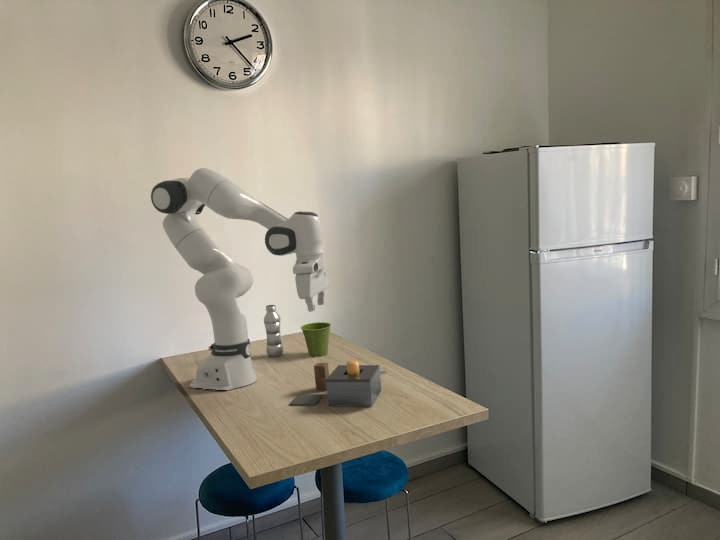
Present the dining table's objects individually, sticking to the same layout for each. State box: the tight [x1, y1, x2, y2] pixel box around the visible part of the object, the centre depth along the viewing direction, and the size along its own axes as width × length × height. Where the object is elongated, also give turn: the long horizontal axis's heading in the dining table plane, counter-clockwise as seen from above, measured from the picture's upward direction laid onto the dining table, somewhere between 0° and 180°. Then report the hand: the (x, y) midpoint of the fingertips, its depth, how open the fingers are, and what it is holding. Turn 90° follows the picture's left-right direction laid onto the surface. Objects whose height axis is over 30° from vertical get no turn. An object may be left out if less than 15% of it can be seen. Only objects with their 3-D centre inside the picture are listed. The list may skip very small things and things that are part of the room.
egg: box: [346, 359, 360, 375], centre depth 167 cm, size 4×4×6 cm
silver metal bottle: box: [263, 304, 284, 358], centre depth 220 cm, size 6×7×20 cm
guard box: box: [326, 364, 382, 408], centre depth 168 cm, size 13×13×8 cm
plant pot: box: [300, 321, 332, 357], centre depth 218 cm, size 12×12×11 cm
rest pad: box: [288, 393, 324, 407], centre depth 170 cm, size 8×8×1 cm
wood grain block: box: [313, 362, 330, 392], centre depth 178 cm, size 4×4×8 cm
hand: (316, 307), depth 176 cm, fingers open, 8 cm apart
